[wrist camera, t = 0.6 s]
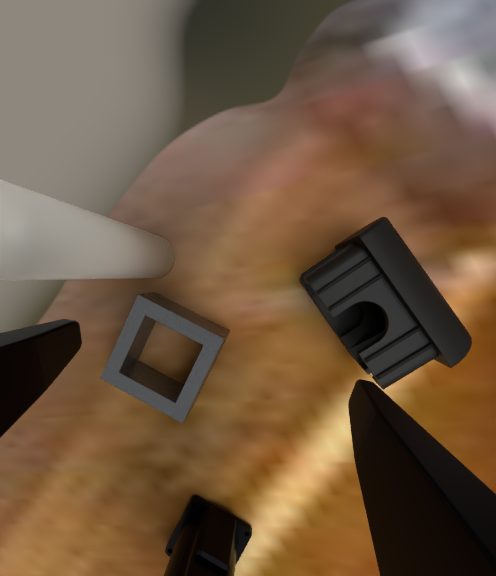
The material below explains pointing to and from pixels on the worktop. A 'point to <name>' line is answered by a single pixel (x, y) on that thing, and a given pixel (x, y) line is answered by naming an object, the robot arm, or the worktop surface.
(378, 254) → the end cap
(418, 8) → the worktop surface
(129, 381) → the square frame
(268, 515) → the worktop surface
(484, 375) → the worktop surface
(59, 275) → the white tapered peg
